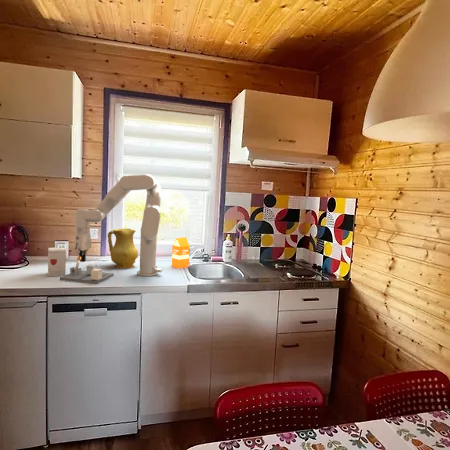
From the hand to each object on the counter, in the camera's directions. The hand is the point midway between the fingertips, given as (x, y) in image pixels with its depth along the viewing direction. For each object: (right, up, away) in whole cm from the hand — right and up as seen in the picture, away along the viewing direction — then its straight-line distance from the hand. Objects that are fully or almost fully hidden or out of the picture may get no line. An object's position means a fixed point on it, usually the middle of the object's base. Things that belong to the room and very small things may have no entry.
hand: (82, 261), depth 200 cm
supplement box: (-14, -7, -3) cm, 16 cm away
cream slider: (+13, -8, -14) cm, 21 cm away
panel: (+6, -9, -7) cm, 13 cm away
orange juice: (+53, -7, +33) cm, 63 cm away
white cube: (+7, -7, -4) cm, 11 cm away
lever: (-1, -5, -6) cm, 8 cm away
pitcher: (+16, -6, +26) cm, 31 cm away
